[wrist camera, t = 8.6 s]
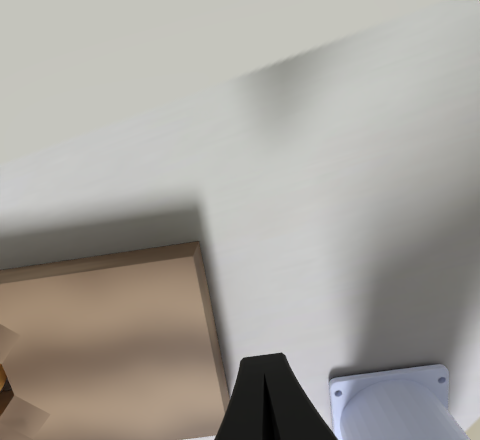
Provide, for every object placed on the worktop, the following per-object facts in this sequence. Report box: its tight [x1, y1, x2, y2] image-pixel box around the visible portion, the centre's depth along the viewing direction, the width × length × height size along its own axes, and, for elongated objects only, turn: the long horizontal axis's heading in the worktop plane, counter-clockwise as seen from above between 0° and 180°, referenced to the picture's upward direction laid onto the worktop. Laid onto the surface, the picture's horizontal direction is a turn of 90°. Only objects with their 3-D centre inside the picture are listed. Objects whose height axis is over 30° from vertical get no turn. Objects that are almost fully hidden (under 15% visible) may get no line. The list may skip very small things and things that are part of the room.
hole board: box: [0, 241, 230, 440], centre depth 19 cm, size 12×20×2 cm, turn 99°
